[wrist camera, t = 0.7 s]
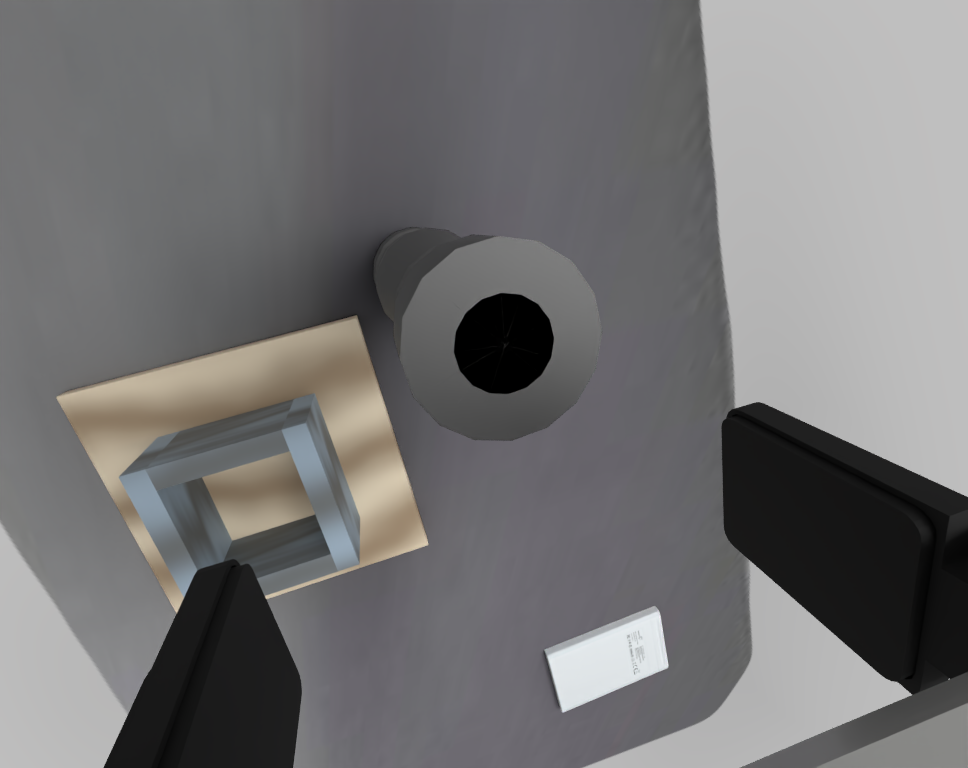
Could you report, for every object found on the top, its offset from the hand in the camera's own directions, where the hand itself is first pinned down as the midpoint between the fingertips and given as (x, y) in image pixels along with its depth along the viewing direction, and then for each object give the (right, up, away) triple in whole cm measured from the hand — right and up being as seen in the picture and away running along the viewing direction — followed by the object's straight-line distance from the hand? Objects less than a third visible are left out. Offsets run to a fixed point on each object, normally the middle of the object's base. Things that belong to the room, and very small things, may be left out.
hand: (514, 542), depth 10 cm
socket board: (-17, -4, +29) cm, 34 cm away
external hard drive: (+12, -25, +44) cm, 52 cm away
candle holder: (-6, +11, +27) cm, 30 cm away
